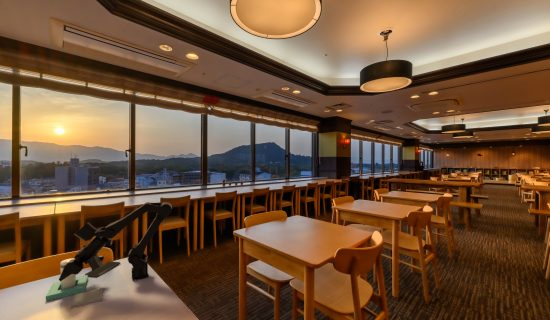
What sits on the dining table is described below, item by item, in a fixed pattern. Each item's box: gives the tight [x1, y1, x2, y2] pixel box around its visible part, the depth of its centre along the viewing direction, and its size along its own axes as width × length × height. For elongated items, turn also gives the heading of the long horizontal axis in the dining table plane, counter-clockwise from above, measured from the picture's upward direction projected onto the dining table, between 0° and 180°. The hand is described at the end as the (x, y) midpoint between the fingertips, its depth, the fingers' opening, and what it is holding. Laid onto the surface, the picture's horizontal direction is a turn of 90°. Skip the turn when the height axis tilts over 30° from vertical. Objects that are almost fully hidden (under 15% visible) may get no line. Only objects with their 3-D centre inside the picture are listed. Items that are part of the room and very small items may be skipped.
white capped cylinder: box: [59, 257, 77, 290], centre depth 105 cm, size 5×5×13 cm
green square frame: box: [45, 275, 89, 302], centre depth 105 cm, size 12×12×2 cm
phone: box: [84, 260, 121, 278], centre depth 124 cm, size 8×1×15 cm
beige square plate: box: [69, 287, 104, 309], centre depth 99 cm, size 10×10×1 cm
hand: (64, 275), depth 105 cm, fingers open, 9 cm apart
